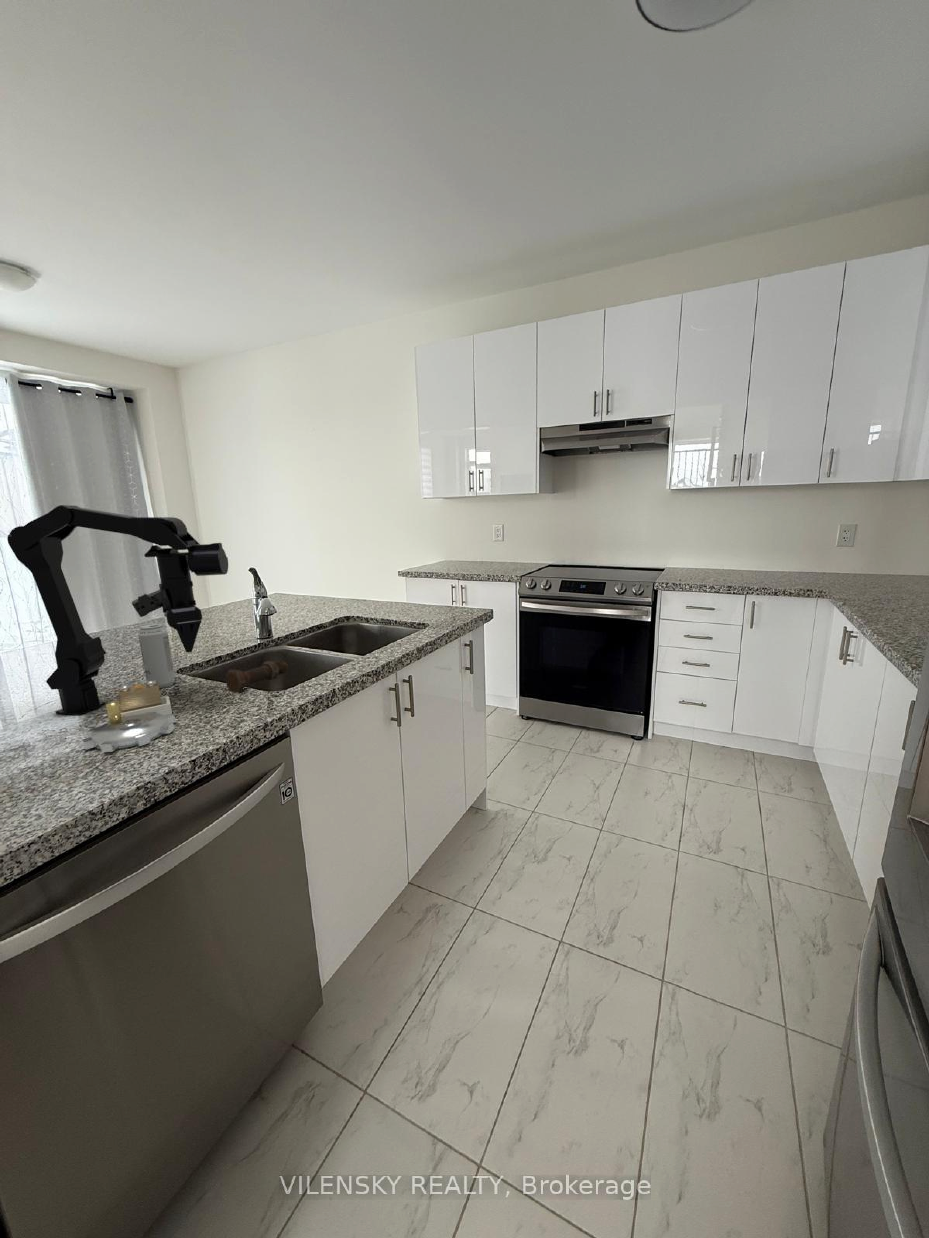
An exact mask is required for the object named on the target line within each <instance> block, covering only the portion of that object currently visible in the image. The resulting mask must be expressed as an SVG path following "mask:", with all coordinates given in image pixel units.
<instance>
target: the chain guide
mask: <svg viewBox="0 0 929 1238" xmlns="http://www.w3.org/2000/svg"><path fill="white" fill-rule="evenodd" d="M160 697H161V702H162V705H158V706H153V707H148V708H144V709H139V710H134V711H129V712H124V713H122V712H121V707H120V704H119V707H120V712H121V717H123V716H124V717H128V716H132V715H138V714H145V713H146V712H156V713H158V714H163V715H167V714H170V713H171V714H173V712H172V711H173V710H172V707H171V701H170V696H169V695H164V696H160Z"/></svg>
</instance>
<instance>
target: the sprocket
mask: <svg viewBox="0 0 929 1238" xmlns="http://www.w3.org/2000/svg"><path fill="white" fill-rule="evenodd" d="M119 705H120V702H119V700H113V701H111V700H110V701H108V702H106V704H105V706H106V707H105V708H106V713H107V716H108V717H107V718H108V722H106V723H104V724H102V725H100V726H97V727H96V726H95V727H91V728H90V729H89V730H87V731H86V734H87V737H86V738H82V739H81V742H82V746H83V748H84V749H85V750H90V749H93V748H95V749H98V750H101V753H111V752H114V751H115V750H119V749H120V750H121V749H127V748H131V747H136V746H138V747H141V746H144V745H148V744H150V743H151V741H153V740H155V739H157V738H159V737H161V736H162V735H165V734H171V732H173V731H174V730H175V726H174V723H176V717H175V714H173V713H172V714H171V713H170V714H167V715H163V714H158V713H156V712H146V713H145V714H138V715H132V716H128V717H124V716H123V717H121V712H120V707H119Z"/></svg>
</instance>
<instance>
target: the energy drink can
mask: <svg viewBox="0 0 929 1238" xmlns="http://www.w3.org/2000/svg"><path fill="white" fill-rule="evenodd" d="M137 637H138V641H139V646H140V652H141V656H142V663H143V668H144V674H145V682H146V681H149V680H156V682H158V685H159V689H163V688H168V687H171V686H173V684H174V682H175V680H176V676H175V675H176V674H175V668H174V663H173V662H174V661H173V658H172V652H171V646H170V640H169V634H168V630H167V629H166V627H164V624H163V623H153V624H145V625H142V626H140V627H139V633H138V636H137Z"/></svg>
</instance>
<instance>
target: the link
mask: <svg viewBox="0 0 929 1238" xmlns="http://www.w3.org/2000/svg"><path fill="white" fill-rule="evenodd" d="M160 691H161V690H160V688H159V685H158V682H156V680H149V681H146V680H145V683H143V684H142V683H139V684H134V685H133V686H131V685H130V684H122V685H120V686H118V689H117V695H118V696H117V697H118V701H119V705H120V707H121V712H122V713H124V712H129V711H134V710H139V709H144V708H148V707H153V706H158V705H162V702H161V697H162V696H161V693H160Z"/></svg>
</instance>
